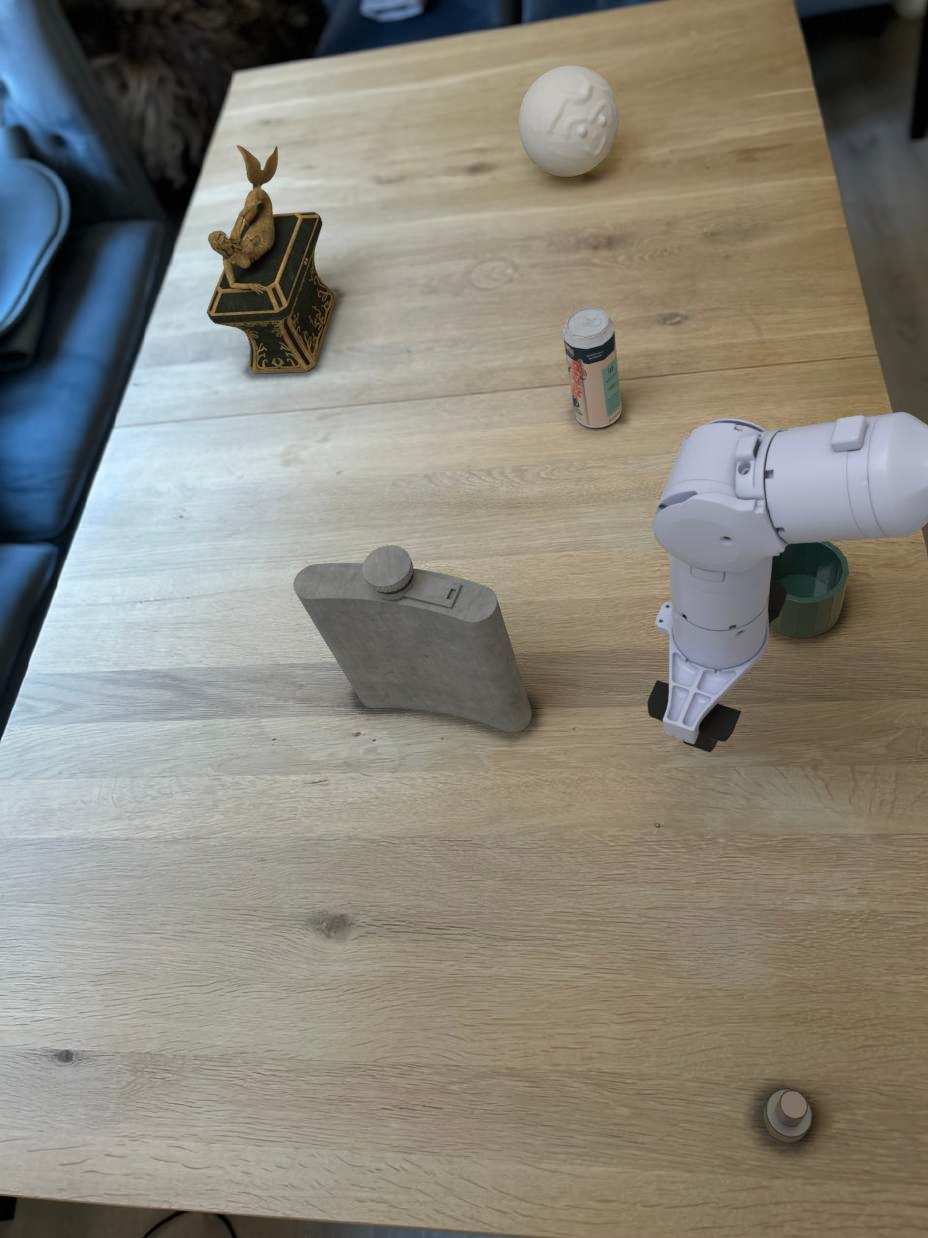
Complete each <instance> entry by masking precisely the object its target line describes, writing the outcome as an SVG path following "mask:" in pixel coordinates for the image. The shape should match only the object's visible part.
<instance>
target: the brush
mask: <svg viewBox="0 0 928 1238" xmlns="http://www.w3.org/2000/svg"><path fill="white" fill-rule="evenodd" d="M762 1116H763V1117H762V1118H763V1123H764V1125H765V1128H766V1130H767V1131H768V1133H769V1134H770V1135H771V1136H772V1137H774V1139H776V1140H777V1141H778V1142H783V1143H787V1144H792V1143H796V1142H798V1141H801V1139H803V1138H804V1137H805V1136H806V1134H807V1133H808V1132H809V1131H810V1129H811V1127H812V1124H813V1118H814V1113H813V1108H812V1106H811V1103H810V1101H809V1100H808V1099H807V1098H806V1096H804V1094H803V1093H802V1092H800V1091H798V1090H796V1089H794V1088H790V1087H782V1088H779V1089H776V1090H775V1091H773V1092H772V1093H771V1094H770V1095H769V1096H768V1098H767V1100H766V1103H765V1105H764V1108H763V1115H762Z"/></svg>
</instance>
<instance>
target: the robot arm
mask: <svg viewBox="0 0 928 1238" xmlns="http://www.w3.org/2000/svg"><path fill="white" fill-rule="evenodd" d="M679 446H680V447H679V450H678V452H677V455H676V456H675V459H674V463H673V465H672V468H671V470H670V472H669V476H668V478H667V480H666V483H665V486H664V489H663V491H662V494H661V497H660V499H659V502H658V504H657V507H656V509H655V517H654V519H653V522H652V531H653V535H654V538H655V539H656V541H657V543H658V544H659V546H661V548H663V550H664V551H666V552H667V553H668V563H669V564H668V567H669V587H670V588H669V589H670V601H666V602H664V603H662V605H661V606H660V609H659V610H658V613H657V615H656V617H655V620H654V621H655V622H654V627H655V629H656V631H658V632H660V633H663V634H665V635H667V636H668V637H669V639H668V641H669V644H668V645H669V651H668V656H669V657H668V682H664V681H661V680H659V679H656V680H655V682H654V686H653V687H652V690H651V692H650V694H649V697H648V699H647V702H646V703H647V712H648V716H649V717H650V718H653V719H654V720H658V721H660V722H661V723H662V730H663V735H665V736H668V737H671V738H674V739H675V740H679V741H682V743H683V744H684V745H687V746H689V747H692V748H695V749H698V750H701V751H704V752H707V753H711V752H712V751H714V749H715V748H716V746H717V744H718V741H719V742H723V743H724V742H727V741H728V740H729V739H730V737H731V736H732V735H733V733H734V732H735V729H736V727H737V723H738V721H739V719H740V716H741V714H742V711H741V710H739V709H736V708H734V707H730V706H727V705H724V704H721V703H720V701H721V700H723V698H724V697H725V696H726V695H727V694H728V693H729V692H730V691H731V690H732V689H734V687H735V686H736V685H737V684H738V683H739V682H740V681H741V680H742V679H743V678H744V677H745V676H746V675H747V674H748V673H749V671H751V670H752V668H753V667H754V666H755V665H757V664H758V662H759V661H760V660H761V659H762V657H763V655H764V654H765V652H766V650H767V647H768V644H769V635H770V626H769V624H770V623H771V622H772V621H773V620H775V619H776V618H778V617H779V615H780V613H781V610H782V608H783V605H784V602H785V600H786V596H787V591H786V588H785V586H784V585H783V584H782V583H780V582H778V581H775V580H772V579H771V569H772V559H773V556H779V555H780V552H784V550H785V547H786V546H787V545H788V544H796V543H811V542H827V541H829V542H837V541H838V542H839V541H841V542H842V541H855V540H856V541H857V540H871V539H887V538H888V539H889V538H903V537H904V538H905V537H910V536H913V535H915V534H916V533H918V532H919V531H920V530H921V529H923V528H924V527H925V526H926V525H927V524H928V424H927V423H925V422H924V421H922V420H921V419H919V418H917V417H916V416H914V415H912V414H910V413H908V412H907V411H906V412H905V411H898V412H893V413H891V412H890V413H886V414H885V413H883V414H876V415H870V416H869V415H868V416H864V415H863V414H859V415H853V416H846V417H839V418H837V419H836V420H834V421H829V422H820V423H814V424H806V425H801V426H793V427H787V428H780V429H773V430H767V429H765V427H762V426H761V425H760V424H756V423H754V422H752V421H750V420H747V419H741V418H740V419H739V418H735V417H723V418H716V419H713V420H710V421H707V422H706V423H704V424H703V425H700V426H698V427H695V428H694V429H692V430H691V432H690V434H689V433H687V434H686V435H685V436H684V438H683V439H682V441H681V443H680V445H679Z"/></svg>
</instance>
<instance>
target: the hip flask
mask: <svg viewBox="0 0 928 1238" xmlns="http://www.w3.org/2000/svg"><path fill="white" fill-rule="evenodd" d="M292 588H293V590H294V593H295V594H296V597H297V598H298V600H299V601H300V603H301V604H302V606H303V608H304V610H305V611H306V613H307V614H308V616H309V618H310V619H311V621H312V623H313V624H314V626H315V627H316V629H317V632H319V634H320V636H321V637H322V639H323V641H324V643H325V644H326V646H327V647H328V649H329V650H330V653H331V654H332V656H333V657H334V659H335V662H336V663H337V664H338V666H339V667H340V669H341V671H342V672H343V674H344V677H346V679H347V681H348V683H349V684H350V686H351V687H352V689H353V690H354V692H355V694H356V695H357V697H358V699H359V700H360V702H361V703H362V705H364V706H365V707H366V708H369V709H402V710H406V709H407V710H416V711H425V712H432V713H437V714H443V715H449V716H454V717H458V718H463V719H466V720H470V721H474V722H478V723H480V724H485V725H487V726H490V727H493V728H494V729H497V730H500V731H503V732H505V733H509V734H510V733H511V734H515V733H519V732H522V731H524V730H525V729H526V728H527V727H528V726H530V724H531V721H532V718H533V711H532V708H531V704H530V701H529V698H528V695H527V691H526V688H525V685H524V681H523V678H522V676H521V672H520V669H519V665H518V663H517V658H516V655H515V653H514V649H513V646H512V643H511V639H510V636H509V633H508V630H507V626H506V623H505V620H504V617H503V613H502V609H501V607H500V604H499V600H498V597H497V595H496V592H495V591H494V590H493V589H492V588H490V587H489V586H486V585H484V584H481V583H478V582H475V581H472V580H468V579H464V578H462V577H458V576H453V575H450V574H446V573H440V572H436V571H431V570H425V569H419V568H414V563H413V561H412V558H411V555H410V553H409V552H408V551H407V550H406V549H405V548H403V547H402V546H398V545H394V544H390V545H388V544H387V545H383V546H380V547H378V548H376V549H374V550H373V551H372V552H369V554H368V555H367V556H366V558H365V559H364V561H363V563H362V562H361V563H360V562H329V563H325V562H324V563H314V564H310V565H307V566H305V567H304V568H302V569H301V570H300V571H299V572H298V573H297V574H296V576H295V577H294V579H293V585H292Z"/></svg>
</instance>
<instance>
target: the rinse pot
mask: <svg viewBox="0 0 928 1238" xmlns="http://www.w3.org/2000/svg"><path fill="white" fill-rule="evenodd" d="M849 576H850V568H849V562H848V559H847V557H846V556H845V555H844V553H843V551H842V550H841V549H840V548H839V547H838V546H837V545H835V544H833V543H831V541H827V542H811V543H796V544H788V545H787V546H786V547H785V550H784V552H780V555H779V556H773V559H772V569H771V579H772V580H775V581H778V582H780V583H782V584H783V585H784V586H785V588H786V591H787V596H786V600H785V602H784V605H783V608H782V610H781V613H780V615H779V617H778V618H776V619H775V620H773V621H772V622H771V623H770V624H769V628H771V629H772V630H773V631H775V632H777V633H778V634H781V635H783V636H786V637H789V638H795V639H810V638H814V637H818V636H821V635H822V634H825V633H826V632H828V631H829V630H830V629H832V628H833V627H834V625H836V623H837V622H838V620H839V618H840V615H841V611H842V609H843V604H844V600H845V595H846V590H847V585H848V581H849Z"/></svg>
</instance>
